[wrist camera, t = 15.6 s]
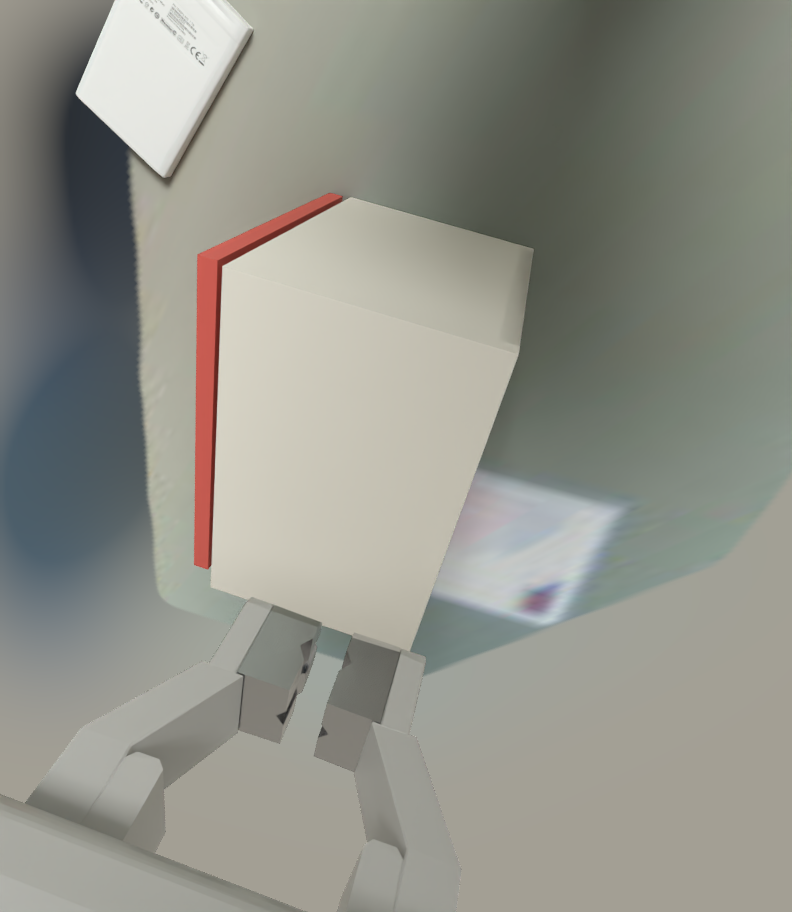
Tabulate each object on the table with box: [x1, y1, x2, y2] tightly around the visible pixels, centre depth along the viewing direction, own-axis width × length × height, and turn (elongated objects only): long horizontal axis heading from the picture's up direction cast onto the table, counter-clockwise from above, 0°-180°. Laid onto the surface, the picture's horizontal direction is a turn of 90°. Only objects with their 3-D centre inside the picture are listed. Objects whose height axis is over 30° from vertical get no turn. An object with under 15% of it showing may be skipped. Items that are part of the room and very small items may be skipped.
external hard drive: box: [76, 0, 254, 178], centre depth 41 cm, size 2×8×12 cm
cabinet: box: [211, 197, 534, 651], centre depth 40 cm, size 22×14×20 cm, turn 167°
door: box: [194, 193, 343, 569], centre depth 41 cm, size 21×3×19 cm, turn 167°
